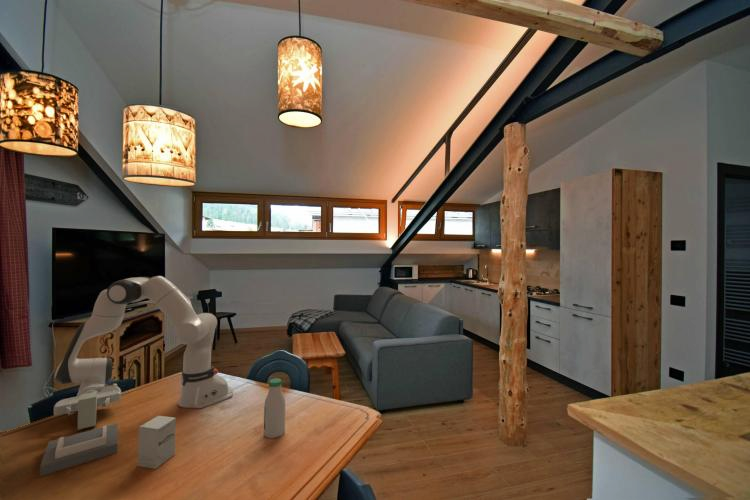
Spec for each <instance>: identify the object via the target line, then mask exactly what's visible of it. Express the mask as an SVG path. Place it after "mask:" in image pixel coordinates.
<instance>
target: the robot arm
mask: <svg viewBox="0 0 750 500" xmlns="http://www.w3.org/2000/svg"><path fill="white" fill-rule="evenodd" d="M96 298H97V299H96V300H95V302H94V306H93V310H92V313H91V316H90V318H89V319H88V320H87V321H85V322H84V323H81V324H80V325H79V326H78V328H77V330H76V332H75V334H74V335H73V337H72V338H71V340H70V344H69V345H68V346H67V347H68V348H67V349H66V351H65V354H64V357H63V359H62V360H61V361H60V363H59V364H58V366H57V368H56V370H55V372H54V380H55V381H57V382H58V383H59V384H61V385H67V384H73V383H81V384H80V386H79V388H78V392H77V394H76V396H72V397H69V398H63V399H60V400H59V401H57V402H56V403H55V404H54V405H53V415H54V416H62V415H65V414H68V416H72V415H74V414H75V412H78V400H79V396H80V395H81V394H86V393H91V392H96V391H97V407H100V406H101V408H105V407H107V406H108V405H109V404H112V403H118V402H120V401H122V389H121V388H120V387H119V386H118V384H117V383H109V382H110V380H111V378H112V374H113V365H114V363H113V361H112V360H111V359H110V358H109V357H93V358H78V357H77V356H78V355H79V352H80V351H81V348H82V346H83V344H84V343H85V342H86V341H87V340H91V339H92V338H94V337H98V336H103V335H106V334H108V333H111V332H113V331H115V330H117V329H118V328H119V327H120V326H121V325H122V322H123V320H124V316H125V312H126V307H127V305H128V304H131V303H137V302H141V301H143V300H146V299H149V301H151V302H152V303H153V304H154V305H155V306H156V307H157V309H159V310H160V311H161V312H162V313H163V315H164V316H165V317H166V318H167V319H168V320H169V322H170V324H171V325H172V327H173V329H174V331H175V333H174V335H175V338H176V340H177V341H178V343H179V344H182V345H186V348H185V351H184V352H183V356H182V357H183V361H182V362H183V363H182V367H183V368H182V371H181V379H180V380H181V391H180V397H179V399H178V403H177V405H178V406H179V407H180V408H189V409H190V408H194V409H201V408H202V409H203V408H205V407H208V406H211V405H213V404H217V403H219V402H221V401H225V400H227V399H231V398H233V396H234V390H233V388H232V387H230V386H229V385H228V382H227V380H226V379H225V378H224V377H222V376H220V375H218V373H219V370H218V369H217V368H215V367H214V366H213V365H212V347H213V343H214V337H215V333H216V328H217V326H218V319H217V317H216V315H214V314H213V313H210V312H202V313H201V312H200V313H198V314H197V312H196V311H195V310H194V308H193V305H192V301H191V300H190V299H189V297H188V296H187V295H185V293H183V292H182V291H181V289H180V288H178V287H177V286H176V285H175V284H174V283H173V282H172V281H170V280H169V279H168V278H166V277H164V276H162V275H156V276H152V277H148V276H139V277H137V276H136V277H129V278H124V279H119V280H116V281H114V282H112V283H111V284H110V285H109V286H108V287H107V288H105V289H103V290H101V292H99V295H98V296H97V297H96ZM211 365H212V366H211Z"/></svg>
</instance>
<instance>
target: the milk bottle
mask: <svg viewBox="0 0 750 500" xmlns="http://www.w3.org/2000/svg"><path fill="white" fill-rule="evenodd" d="M282 384H283V383H282V379H281V378H277V377H276V378H272V379H270V380H269V381H268V388H269V389H268V393H267V395H266V397H265V400H264V406H263V408H264V409H263V411H264V412H263V435H264V437H265V438H269V439H276V438H279V437H281V436H283V435H284V433H285V431H286V399H285V394H284V393H283V391H282ZM278 436H279V437H278ZM275 437H276V438H275Z"/></svg>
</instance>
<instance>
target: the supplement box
mask: <svg viewBox="0 0 750 500" xmlns="http://www.w3.org/2000/svg"><path fill="white" fill-rule="evenodd" d="M176 419H177V418H176V417H174V416H173V417H171V416H165V415H157V416H155V417H154V418H152V419H150V420H148V421H146V422H145V423H144V424H142V425H140V426H138V441H137V442H138V443H137V444H138V445H137V466H138V467H143V468H148V469H154V470H157V469H158V468H159V467H160V466H162V465H163V464H164V463H165V462H167V461H168V460H170V459H171V458H172V457H173V456H175V453H176V424H177V422H176V421H177V420H176Z"/></svg>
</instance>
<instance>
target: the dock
mask: <svg viewBox="0 0 750 500" xmlns="http://www.w3.org/2000/svg"><path fill="white" fill-rule="evenodd" d="M113 454H118V423H113V424H110V425H107V424H106V425H103V426H102V427H98V428H94V429H92V430H87V431H83V432H80V433H79V432H78V433H76V434H72V435H68V436H61V437H59V438H56V439H54V440H49V441H48V443H47V446H46V449H45V451H44V454H43V457H42V459H41V463H40V465H39V477H43V476H46V475H51V474H53V473H56V472H59V471H62V470H66V469H68V468H69V469H70V468H73V467H75V466H78V465H79V466H80V465H81V464H85V463H89V462H91V461H94V460H98V459H100V458H105V457H107V456H110V455H113Z"/></svg>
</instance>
